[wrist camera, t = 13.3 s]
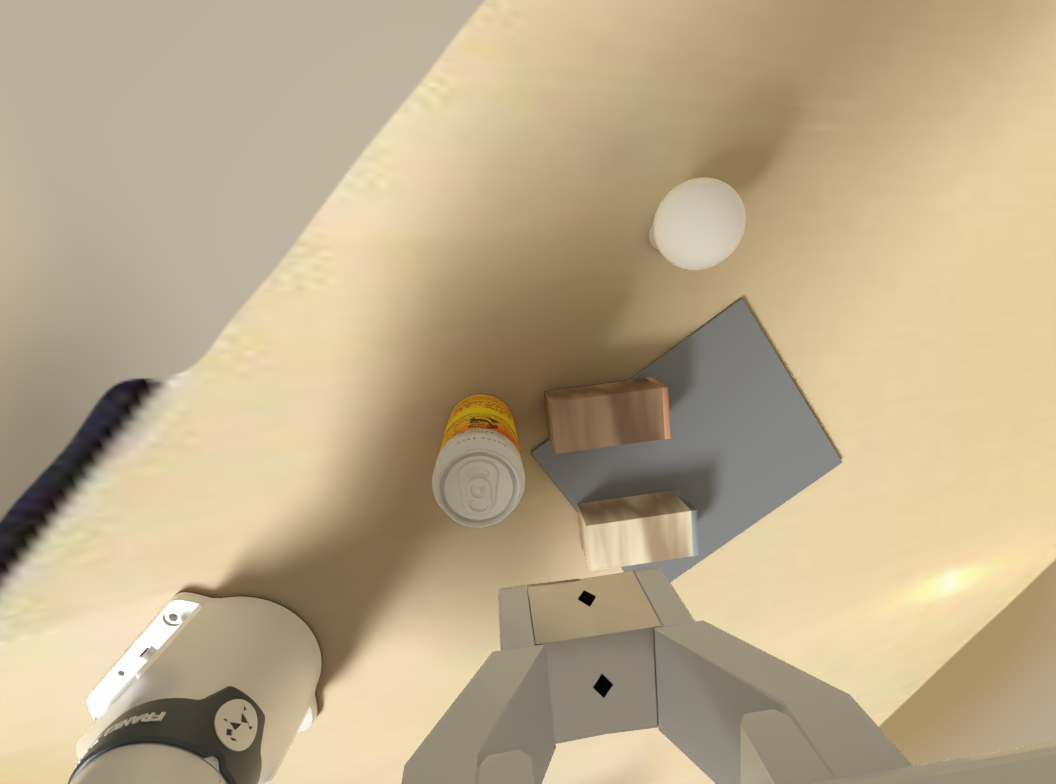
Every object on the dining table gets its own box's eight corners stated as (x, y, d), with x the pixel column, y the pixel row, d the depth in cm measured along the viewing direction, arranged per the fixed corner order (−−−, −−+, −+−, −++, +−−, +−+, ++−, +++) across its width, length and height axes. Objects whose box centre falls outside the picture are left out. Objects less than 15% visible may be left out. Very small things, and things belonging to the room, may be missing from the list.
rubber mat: (644, 596, 51) (646, 599, 51) (530, 452, 47) (530, 453, 46) (839, 460, 49) (842, 462, 49) (740, 298, 45) (742, 298, 45)
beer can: (513, 391, 45) (525, 441, 31) (515, 453, 46) (527, 530, 32) (446, 393, 45) (426, 445, 30) (450, 456, 46) (433, 536, 31)
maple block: (696, 509, 44) (586, 525, 43) (698, 555, 45) (590, 571, 44) (677, 489, 48) (577, 503, 48) (679, 531, 49) (581, 545, 49)
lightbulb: (611, 246, 43) (652, 233, 32) (653, 182, 42) (709, 147, 32) (668, 286, 44) (726, 286, 34) (710, 224, 43) (783, 204, 33)
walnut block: (667, 387, 41) (549, 402, 41) (670, 438, 42) (555, 454, 42) (650, 377, 46) (543, 391, 45) (653, 424, 47) (549, 438, 46)
